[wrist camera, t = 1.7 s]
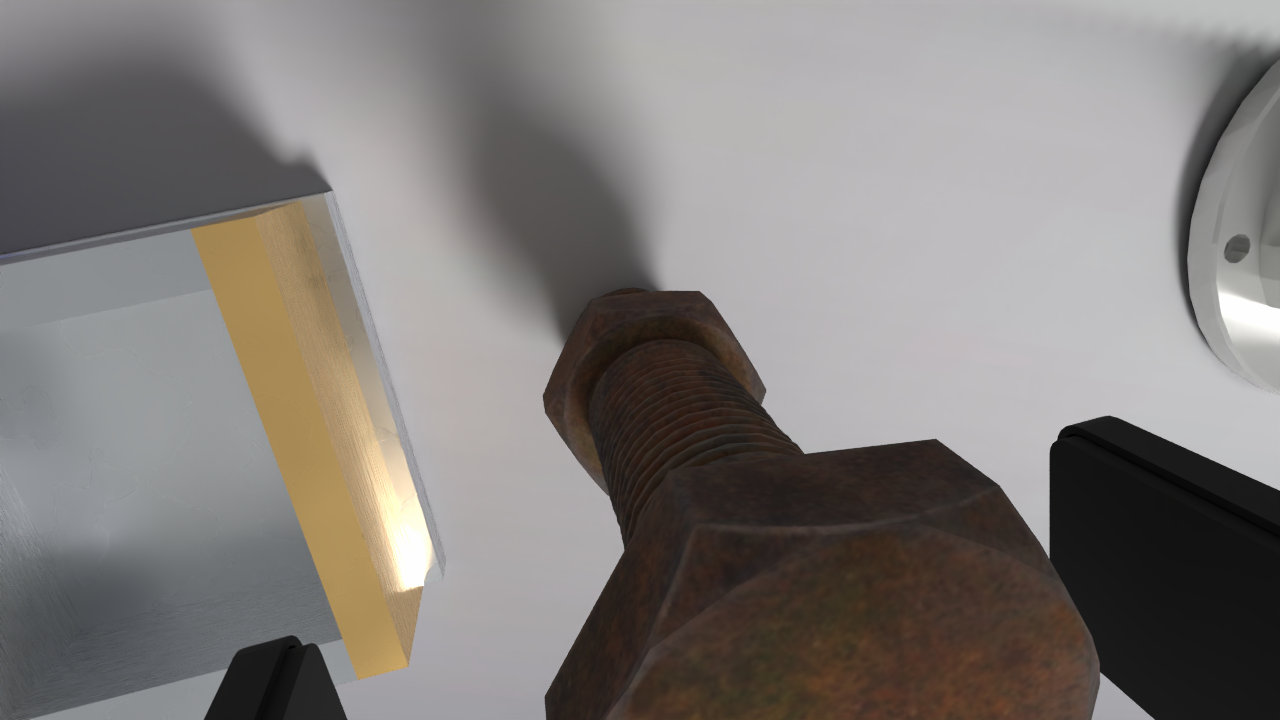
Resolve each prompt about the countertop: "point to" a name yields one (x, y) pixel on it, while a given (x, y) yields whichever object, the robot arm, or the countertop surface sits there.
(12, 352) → the shallow open tray
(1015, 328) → the countertop surface
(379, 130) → the countertop surface
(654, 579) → the bolt
